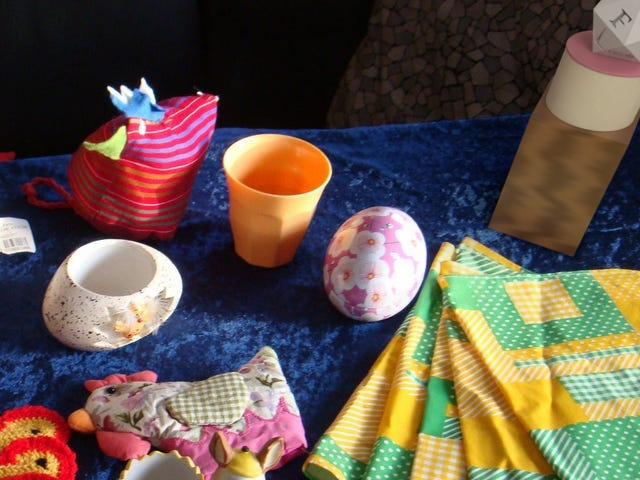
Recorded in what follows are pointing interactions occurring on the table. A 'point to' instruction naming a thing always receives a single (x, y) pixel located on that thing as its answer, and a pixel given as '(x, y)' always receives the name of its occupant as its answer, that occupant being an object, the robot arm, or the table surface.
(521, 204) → the brown piece
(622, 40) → the die
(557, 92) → the yogurt
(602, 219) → the table surface
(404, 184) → the table surface
